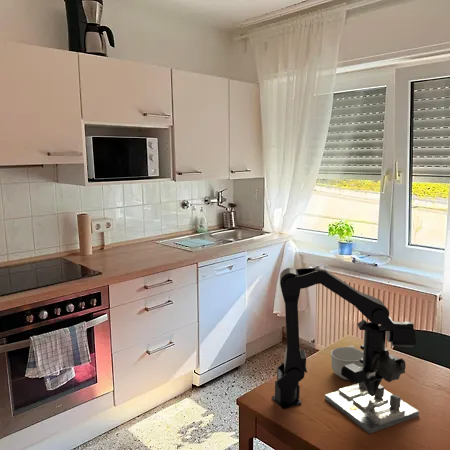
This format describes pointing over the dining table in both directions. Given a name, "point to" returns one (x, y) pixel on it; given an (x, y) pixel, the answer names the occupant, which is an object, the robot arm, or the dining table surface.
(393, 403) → the right handle
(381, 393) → the handle
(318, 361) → the dining table surface
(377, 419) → the breaker panel
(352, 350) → the teacup
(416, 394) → the dining table surface
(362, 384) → the left handle
